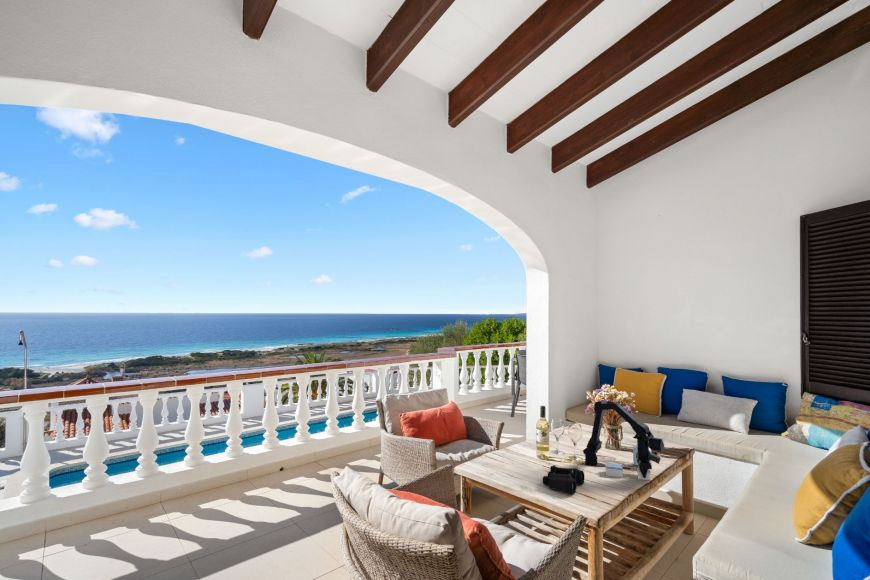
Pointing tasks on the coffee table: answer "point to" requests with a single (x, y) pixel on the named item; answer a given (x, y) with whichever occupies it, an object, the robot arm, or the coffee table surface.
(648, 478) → the stub
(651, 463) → the photo printer
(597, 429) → the robot arm
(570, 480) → the binoculars
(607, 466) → the ticket book
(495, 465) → the coffee table surface
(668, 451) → the coffee table surface
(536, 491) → the coffee table surface
